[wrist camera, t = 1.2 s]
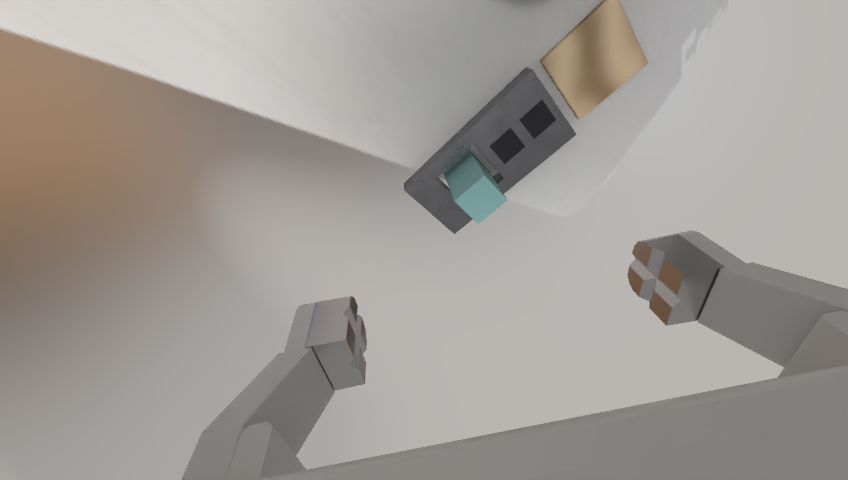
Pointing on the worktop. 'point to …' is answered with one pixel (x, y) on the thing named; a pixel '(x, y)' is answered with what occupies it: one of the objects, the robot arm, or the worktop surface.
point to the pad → (595, 58)
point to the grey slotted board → (496, 145)
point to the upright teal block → (474, 187)
